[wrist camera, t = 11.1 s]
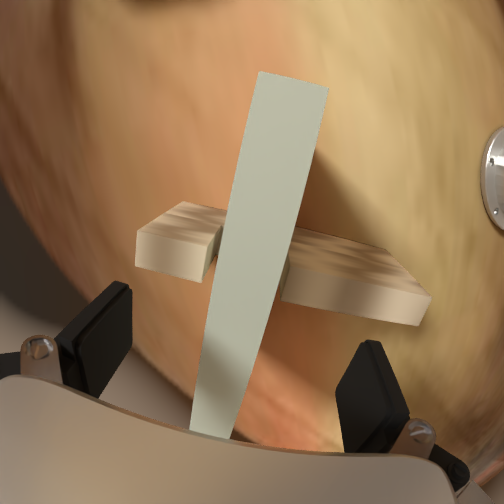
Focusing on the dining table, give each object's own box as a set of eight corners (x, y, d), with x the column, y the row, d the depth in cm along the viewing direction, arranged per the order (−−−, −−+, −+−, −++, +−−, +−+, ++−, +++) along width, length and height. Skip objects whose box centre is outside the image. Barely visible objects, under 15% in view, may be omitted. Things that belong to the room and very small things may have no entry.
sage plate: (266, 119, 23) (259, 71, 8) (293, 125, 23) (329, 88, 8) (222, 317, 30) (187, 444, 15) (244, 322, 30) (224, 452, 15)
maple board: (385, 249, 27) (432, 297, 17) (377, 271, 27) (418, 326, 18) (182, 201, 26) (137, 230, 17) (179, 225, 27) (134, 265, 18)
